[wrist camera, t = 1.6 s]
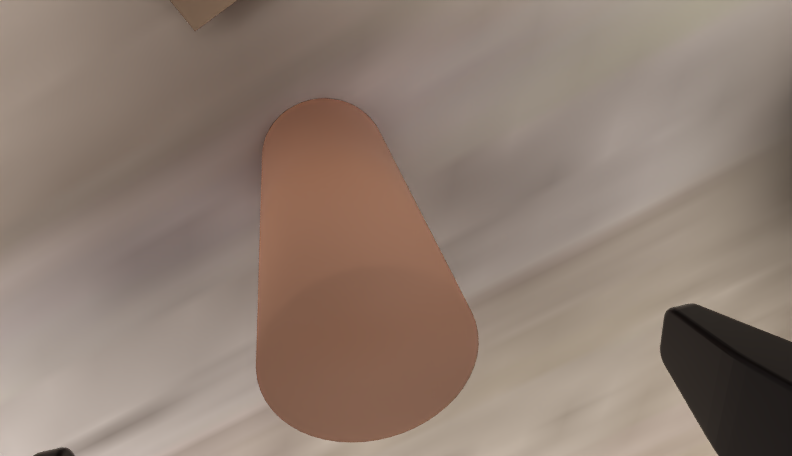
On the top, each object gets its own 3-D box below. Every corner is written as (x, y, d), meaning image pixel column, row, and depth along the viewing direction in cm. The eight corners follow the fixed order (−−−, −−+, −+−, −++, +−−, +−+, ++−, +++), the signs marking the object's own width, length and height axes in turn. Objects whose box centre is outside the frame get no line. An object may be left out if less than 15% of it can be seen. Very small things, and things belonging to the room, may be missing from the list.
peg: (406, 170, 18) (514, 368, 10) (311, 234, 18) (343, 472, 10) (339, 72, 16) (406, 221, 8) (235, 146, 16) (205, 354, 9)
